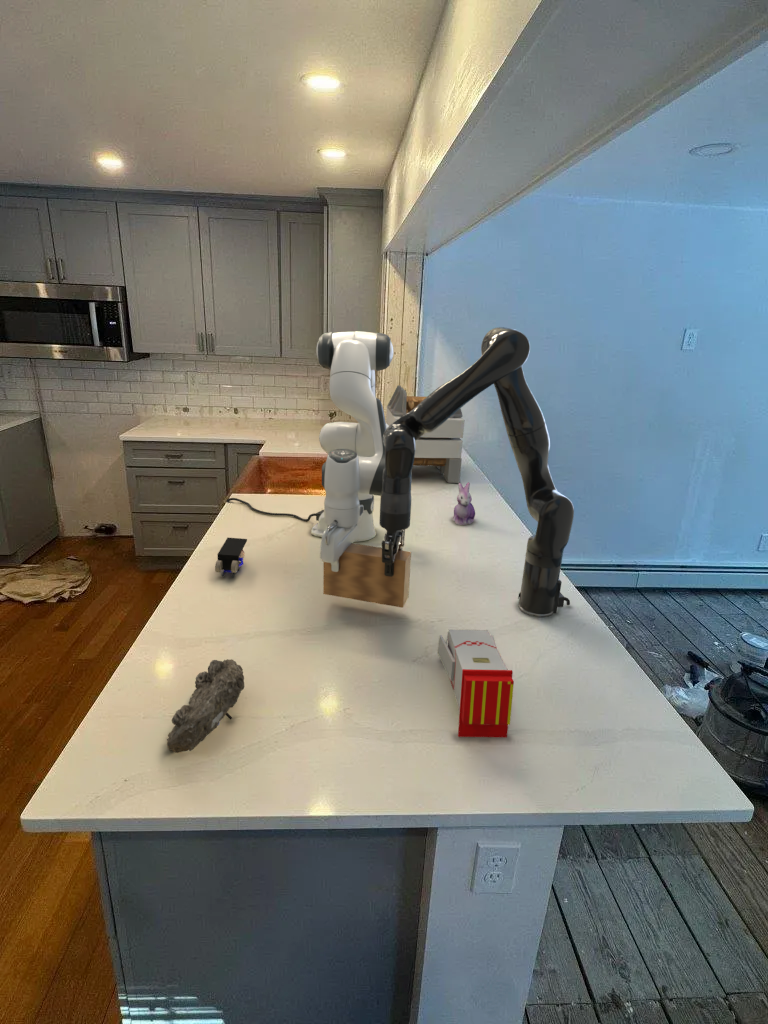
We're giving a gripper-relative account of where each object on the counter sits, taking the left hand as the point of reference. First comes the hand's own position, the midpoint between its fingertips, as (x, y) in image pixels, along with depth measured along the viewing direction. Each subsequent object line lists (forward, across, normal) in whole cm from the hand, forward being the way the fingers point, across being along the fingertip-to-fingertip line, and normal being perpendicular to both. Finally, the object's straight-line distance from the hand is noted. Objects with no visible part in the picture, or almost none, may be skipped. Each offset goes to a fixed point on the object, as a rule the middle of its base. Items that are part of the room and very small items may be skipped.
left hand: (340, 564), depth 147 cm
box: (+8, 0, -7) cm, 10 cm away
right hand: (-1, 0, -14) cm, 14 cm away
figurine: (+12, +76, -22) cm, 80 cm away
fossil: (+12, -49, +8) cm, 51 cm away
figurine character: (+12, +8, +37) cm, 40 cm away
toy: (+12, -25, -38) cm, 47 cm away
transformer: (+12, +134, +9) cm, 135 cm away
